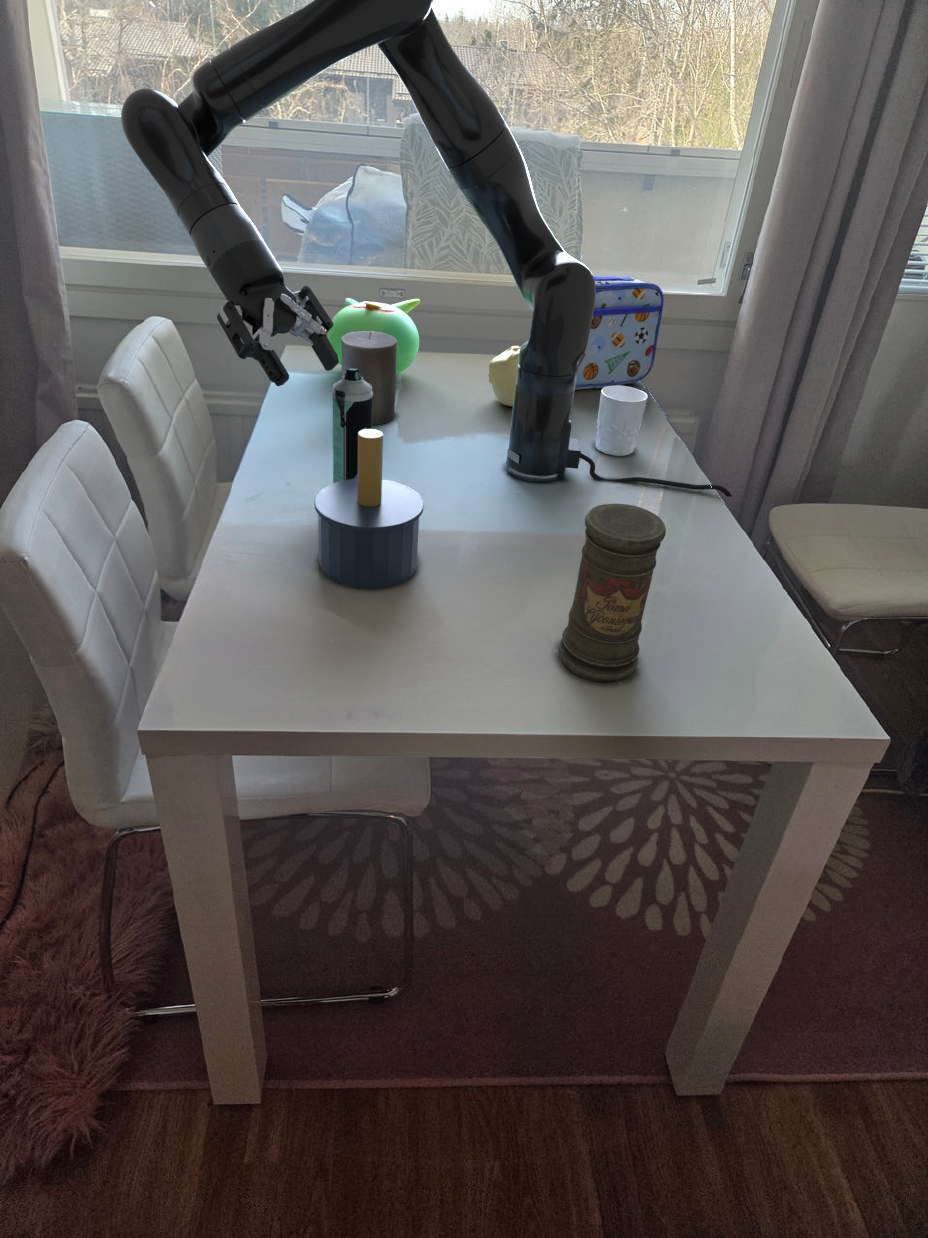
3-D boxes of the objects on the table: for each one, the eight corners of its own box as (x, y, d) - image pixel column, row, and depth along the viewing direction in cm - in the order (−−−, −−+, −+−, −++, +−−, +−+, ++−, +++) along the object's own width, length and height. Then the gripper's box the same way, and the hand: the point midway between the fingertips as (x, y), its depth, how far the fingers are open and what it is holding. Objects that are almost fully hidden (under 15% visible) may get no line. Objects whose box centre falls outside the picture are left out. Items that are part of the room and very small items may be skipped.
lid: (425, 490, 114) (429, 416, 109) (420, 539, 103) (425, 460, 97) (322, 482, 114) (321, 408, 108) (306, 532, 102) (304, 452, 97)
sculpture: (508, 388, 173) (514, 334, 167) (560, 404, 168) (568, 348, 162) (476, 402, 165) (481, 345, 159) (529, 419, 160) (536, 361, 154)
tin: (418, 543, 118) (421, 487, 113) (413, 592, 108) (417, 533, 103) (326, 536, 118) (325, 480, 113) (313, 585, 107) (311, 525, 103)
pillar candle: (405, 414, 157) (409, 331, 149) (373, 429, 150) (374, 343, 142) (363, 401, 161) (364, 319, 153) (329, 415, 154) (328, 330, 146)
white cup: (609, 460, 147) (619, 403, 141) (583, 442, 153) (592, 387, 147) (645, 454, 150) (657, 399, 145) (619, 437, 156) (629, 383, 150)
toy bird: (318, 380, 168) (316, 303, 160) (342, 355, 182) (342, 283, 174) (408, 392, 167) (411, 315, 158) (425, 366, 181) (429, 293, 172)
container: (552, 636, 102) (574, 499, 92) (625, 637, 103) (656, 501, 93) (566, 683, 95) (592, 540, 85) (645, 683, 96) (680, 542, 86)
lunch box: (541, 397, 170) (556, 281, 158) (517, 379, 178) (529, 267, 166) (654, 386, 181) (677, 277, 169) (626, 370, 189) (646, 264, 176)
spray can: (364, 513, 124) (366, 377, 113) (328, 507, 125) (326, 371, 113) (375, 497, 128) (378, 365, 117) (340, 491, 129) (339, 359, 118)
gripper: (203, 243, 95) (282, 371, 97) (294, 230, 105) (365, 346, 107) (176, 284, 101) (251, 404, 102) (266, 267, 111) (333, 377, 112)
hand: (309, 374), depth 104 cm, fingers open, 8 cm apart
